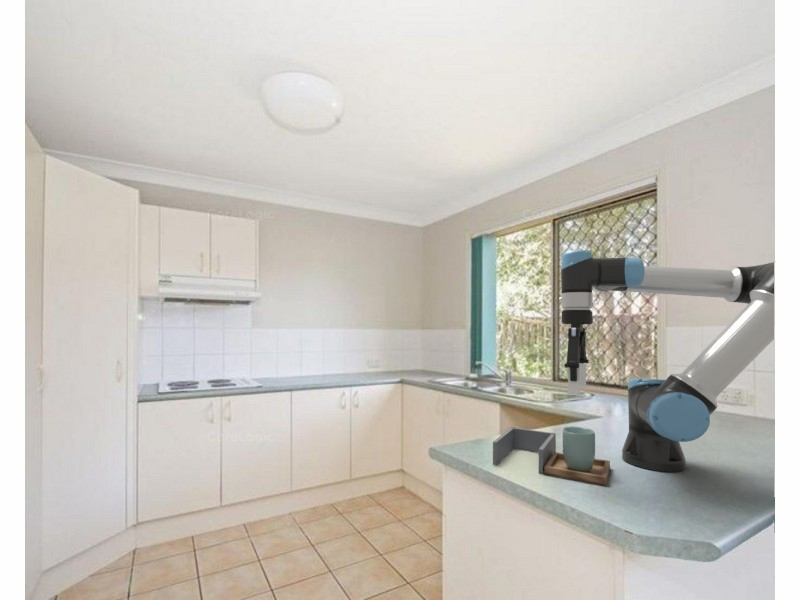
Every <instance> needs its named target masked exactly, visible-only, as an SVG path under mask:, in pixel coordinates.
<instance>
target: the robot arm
mask: <svg viewBox="0 0 800 600" xmlns="http://www.w3.org/2000/svg"><path fill="white" fill-rule="evenodd" d="M774 262H775V261H773V262H768V263H765V264H760V265H758V264H757V265H751V266H750V265H749V266H731V267H729V268H728V269H714V268H713V269H710V268H693V267H692V268H691V267H689V268H687V267H673V266H672V267H667V266H649V265H648V266H647V265H646V266H645V264H644V261H643V260H642V259H641V258H640V257H629V256H626V257H606V258H605V257H603V258H597V257H593V254H592V251H590V250H588V249H585V250H584V249H575V250H574V249H573V250H568V251H565V252H563V254H562V255H561V265H560V276H561V277H560V278H561V279H560V280H561V281H560V283H561V285H560V286H561V296H560V297H559V298H558V300H559V301H560V302H561V308H562V309H563V310H562V311H561V323H562V324H563V325H570V327H568V329H567V331H568V332H567V337H568V338H567V355H566V356H567V357H566V363H564V368H566V369H567V393H568V395H575V396H581V388H584V389H585V388H587V364H589V362H590V360H589V359H588V357H587V350H586V348H587V347H586V346H587V345H586V337H587V331H586V328H585V327H584V326H583V325H592V324H593V310H591V309H592V308H593V306H594V305H593V289H595V290H596V291H599V292H608V291H609V292H629V293H644V294H661V295H673V296H674V295H678V296H692V297H706V298H707V297H709V298H723V299H724V300H725V301H726V302H729V303H737V304H738V303H741V304H746V306H745V307H744V308H743V309H742V310H741V312H739V314H737V315H736V317H735V318H734V319H732V321H731V322H730V323H729V324H728V325H727V326H726V327H725V328H724V329H723V330H722V331H721V332H720V333H719V334H718V335H717V336H716V337H715V338H714V339H713V341H711V342H710V343H709V345H707V347H705V349H704V350H702V352H701V353H700V354H699V355H698V356H697V357H696V358H695V359H694V360H693V361H692V362H691V363H690V364H689V365H688V366H687V367H686V368H685V369H684V371H682V372H681V373H672V374H670V375H669V376H668V377H667V378H665V379H658V378H657V379H654V378H631V379H630V380H629V381H628V387H627V398H628V399H627V400H628V401H627V402H628V405H627V406H628V432H627V436H626V439H625V441H624V444H623V447H622V450H621V453H622V454H621V457H622V460H623V461H625V462H626V463H627V464H630V465H633V466H635V467H639V468H642V469H647V470H651V471H657V472H669V473H670V472H671V473H672V472H673V473H674V472H675V473H676V472H681V471H682V472H683V471H685V469H686V468H687V460H686V456H685V454H684V452H683V448H682V446H681V443H685V442H693V441H695V440H697V439H699V438H701V437H702V436H704V435H705V434H706V433H707V431H708V429H709V427H710V424H711V420H710V417H711V415H712V414H713V413H714V412H715V411H716V410H717V408H718V401H717V398H718V396H719V395H721V393H722V392H724V390H726V388H727V387H728V386H729V385H730V384H731V383H732V382H733V381H734V380H735V379H736V378H738V376H739V375H740V374H741V373H742V372H744V370H745V369H747V367H748V366H749V365H750V364H751V363H752V362H753V361H754V360H755V359H756V358H757V357H758V356H759V355H760V353H762V352H763V351H764V350H765V349H766V348H767V347H768V346H769V345H770V344H771V343H772V342H773V341H774V340H775V339H774ZM680 442H681V443H680Z"/></svg>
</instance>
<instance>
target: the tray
mask: <svg viewBox="0 0 800 600" xmlns="http://www.w3.org/2000/svg"><path fill="white" fill-rule="evenodd" d="M610 471H611V460H606V459H599V458H595V460H594V465H593V467H592V469H591V470H589V471H587V472H579V471H574V470H571V469H570V468H569V467H568V466H567V465H566V463H565V461H564V456H563V452H554V453H553V455H552V456H551V458H550V459H549V461H548V462H547V464H546V465H545V467H544V473H543V474H544V475H545V476H548V477H553V478H554V477H555V478H560V479H565V480H571V481H576V482H581V483H586V484H592V485H597V486H601V487H607V484H608V478H609V474H610Z"/></svg>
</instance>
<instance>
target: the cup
mask: <svg viewBox="0 0 800 600" xmlns="http://www.w3.org/2000/svg"><path fill="white" fill-rule="evenodd" d="M561 434H562V453H563V456H564V461H565V463H566V465H567V466H568V467H569V468H570V469H571V470H574V471H579V472H587V471H589V470H591V469H592V467H593V465H594V460H595V459H596V432H595V431H594V430H593V429H591V428H587V427H581V426H565V427H563V428H562V433H561Z"/></svg>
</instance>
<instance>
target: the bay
mask: <svg viewBox="0 0 800 600" xmlns="http://www.w3.org/2000/svg"><path fill="white" fill-rule="evenodd" d="M556 434H557V433H555V432H550V431H549V432H548V431H541V430H533V429H529V428H527V429H526V428H520V427H513V426H511V427H509V428H508V429H507V430H506V431H505V432H503V433H502V434H501V435H500V436H498V437H497V438H496V439H495V440H493V441H492V465H495V466H497V465H499V463H500V462H501V461H503V460H504V458H506V457H507V455H509V454H510V453H511V452H512V451H513V450H515V449H516V450H521V451H522V450H523V451H527V450H528V451H529V452H533V451H534V452H533V453H538V474H542V475H543V474H544V467H545V465H546V464H547V462H548V461H549V459H550V458H551V456H552V455H553V453H554V452H556V451H557V449H556V448H557V446H556V443H557V440H556V437H557V436H556Z"/></svg>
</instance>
